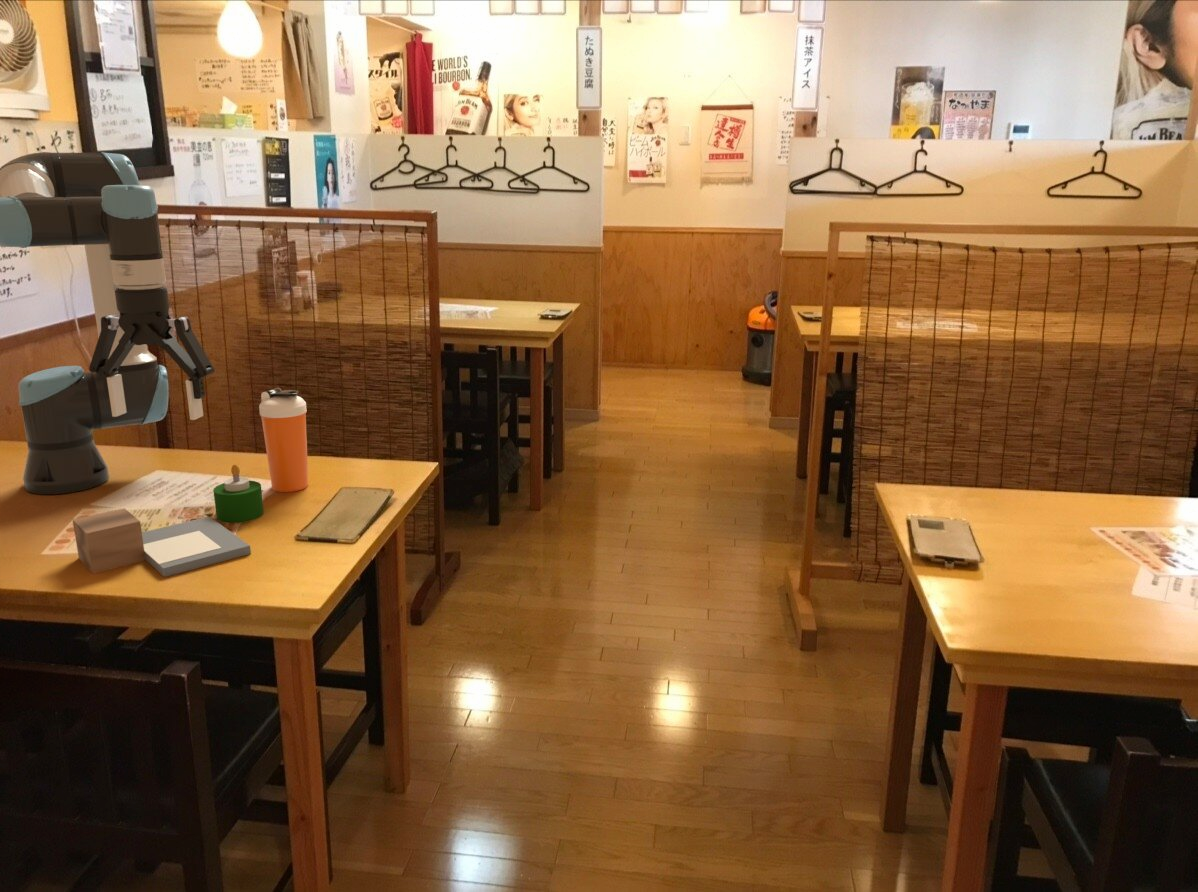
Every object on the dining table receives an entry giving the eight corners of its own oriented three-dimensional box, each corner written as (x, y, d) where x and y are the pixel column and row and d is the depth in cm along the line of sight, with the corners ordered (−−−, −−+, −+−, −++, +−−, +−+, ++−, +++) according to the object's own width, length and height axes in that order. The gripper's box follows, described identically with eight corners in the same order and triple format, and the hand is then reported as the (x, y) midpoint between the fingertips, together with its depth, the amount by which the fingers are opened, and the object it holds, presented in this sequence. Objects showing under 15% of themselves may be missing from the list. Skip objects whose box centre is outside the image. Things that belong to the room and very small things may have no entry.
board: (128, 543, 161) (126, 535, 160) (210, 524, 170) (209, 515, 169) (164, 577, 148) (163, 567, 148) (250, 553, 157) (249, 544, 157)
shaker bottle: (299, 495, 185) (290, 397, 179) (258, 492, 186) (248, 394, 181) (321, 481, 193) (313, 387, 187) (281, 478, 195) (272, 384, 189)
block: (79, 559, 155) (72, 519, 153) (130, 546, 160) (124, 508, 158) (93, 574, 149) (86, 533, 147) (145, 560, 154) (140, 521, 152)
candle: (273, 513, 175) (268, 462, 173) (235, 526, 169) (229, 474, 166) (245, 504, 180) (240, 455, 177) (207, 517, 173) (201, 466, 170)
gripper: (51, 287, 145) (72, 419, 151) (202, 290, 142) (217, 425, 148) (83, 281, 152) (102, 407, 158) (227, 285, 149) (240, 413, 155)
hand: (158, 416), depth 153 cm, fingers open, 13 cm apart
